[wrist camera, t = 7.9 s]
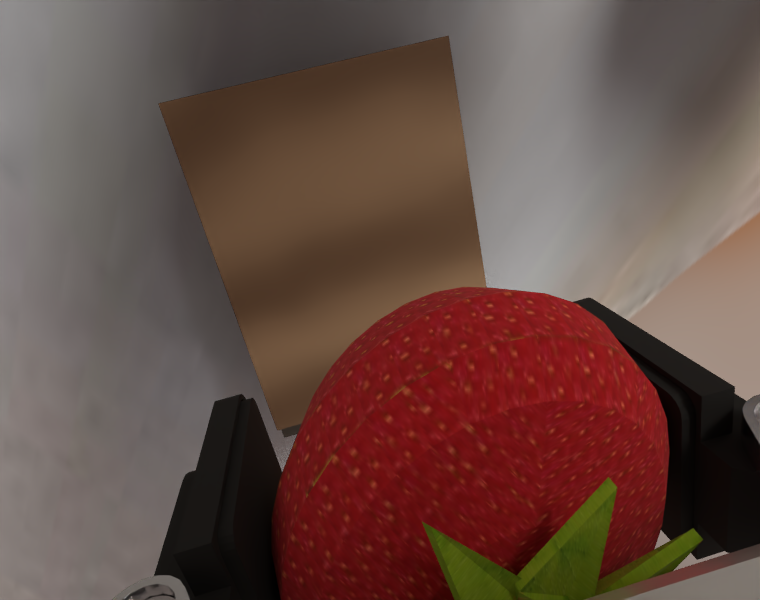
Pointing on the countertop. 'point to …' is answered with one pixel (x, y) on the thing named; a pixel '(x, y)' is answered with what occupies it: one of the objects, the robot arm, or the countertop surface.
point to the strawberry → (477, 460)
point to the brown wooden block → (330, 204)
